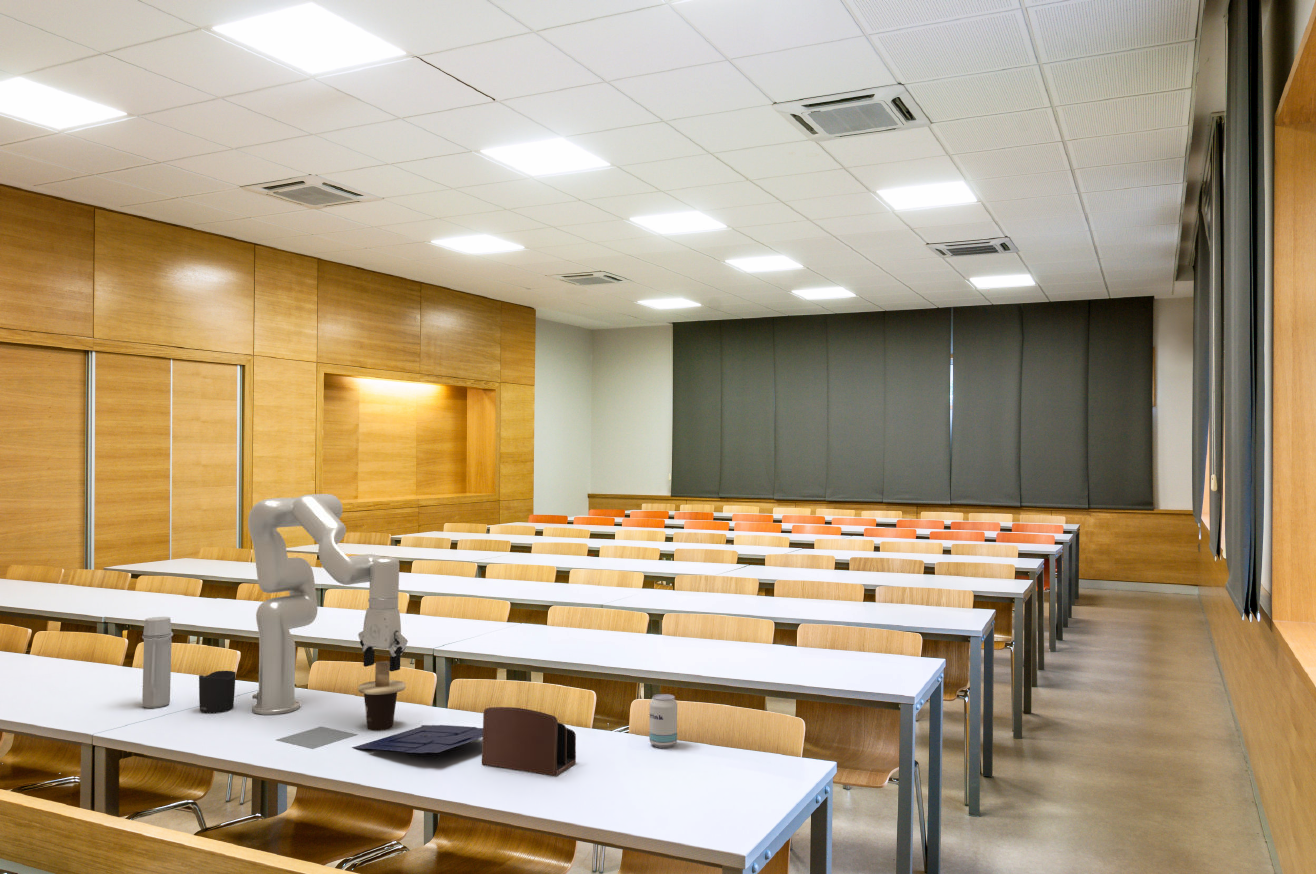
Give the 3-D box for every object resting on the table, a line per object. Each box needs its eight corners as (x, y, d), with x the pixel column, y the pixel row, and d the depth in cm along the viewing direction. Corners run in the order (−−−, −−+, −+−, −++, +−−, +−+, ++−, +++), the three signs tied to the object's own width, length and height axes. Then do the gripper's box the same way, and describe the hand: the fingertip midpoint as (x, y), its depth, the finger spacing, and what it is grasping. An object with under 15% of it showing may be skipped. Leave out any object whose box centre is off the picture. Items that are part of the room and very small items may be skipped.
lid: (348, 691, 239) (349, 664, 239) (383, 681, 249) (383, 656, 249) (381, 696, 233) (381, 669, 233) (415, 687, 243) (415, 660, 244)
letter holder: (555, 777, 203) (556, 713, 203) (480, 765, 210) (481, 704, 211) (576, 764, 212) (577, 703, 212) (504, 753, 219) (504, 694, 220)
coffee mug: (391, 733, 235) (391, 694, 235) (358, 733, 235) (358, 694, 235) (404, 721, 246) (405, 684, 247) (373, 720, 247) (373, 683, 247)
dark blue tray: (431, 767, 205) (430, 750, 206) (348, 759, 222) (347, 743, 222) (506, 740, 225) (505, 725, 226) (424, 735, 242) (423, 721, 242)
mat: (275, 741, 227) (275, 739, 227) (320, 727, 239) (320, 726, 239) (312, 750, 220) (312, 748, 220) (357, 736, 232) (357, 734, 232)
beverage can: (643, 745, 226) (644, 696, 227) (663, 739, 231) (663, 691, 232) (663, 751, 221) (663, 701, 222) (682, 745, 226) (682, 696, 227)
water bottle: (143, 703, 263) (146, 617, 264) (173, 701, 265) (176, 615, 266) (135, 711, 254) (138, 622, 255) (167, 709, 257) (169, 621, 257)
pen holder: (198, 707, 259) (199, 672, 259) (234, 704, 263) (235, 669, 263) (197, 715, 251) (198, 679, 251) (234, 712, 255) (235, 676, 255)
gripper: (350, 602, 243) (348, 666, 243) (396, 608, 234) (394, 675, 234) (371, 599, 250) (369, 661, 249) (417, 605, 241) (415, 669, 240)
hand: (381, 668), depth 241 cm, fingers open, 9 cm apart
